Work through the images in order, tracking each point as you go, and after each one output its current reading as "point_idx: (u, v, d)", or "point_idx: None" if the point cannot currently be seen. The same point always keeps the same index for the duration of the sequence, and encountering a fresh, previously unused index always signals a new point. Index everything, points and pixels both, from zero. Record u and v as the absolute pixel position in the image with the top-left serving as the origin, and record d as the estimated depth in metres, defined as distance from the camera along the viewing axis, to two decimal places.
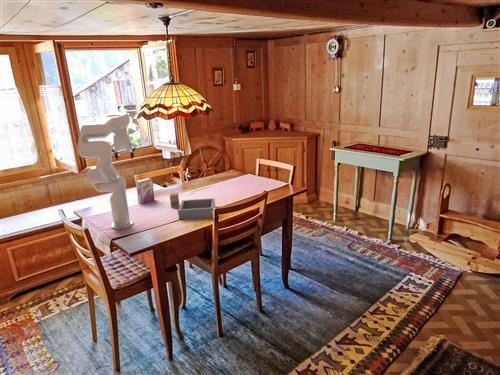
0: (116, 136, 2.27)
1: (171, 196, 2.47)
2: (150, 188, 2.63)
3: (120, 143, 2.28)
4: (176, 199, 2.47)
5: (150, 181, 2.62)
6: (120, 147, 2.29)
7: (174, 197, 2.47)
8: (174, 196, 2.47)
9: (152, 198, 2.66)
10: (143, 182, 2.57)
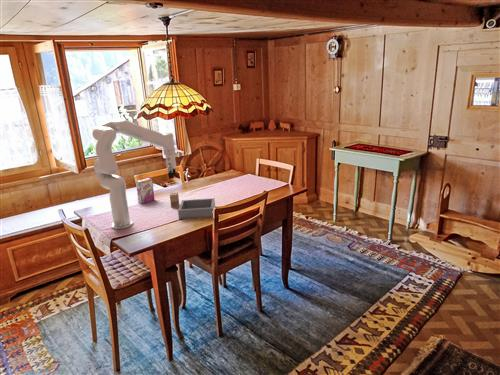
0: (173, 155, 2.39)
1: (171, 196, 2.47)
2: (150, 188, 2.63)
3: (174, 161, 2.42)
4: (176, 199, 2.47)
5: (150, 181, 2.62)
6: (175, 164, 2.43)
7: (174, 197, 2.47)
8: (174, 196, 2.47)
9: (152, 198, 2.66)
10: (143, 182, 2.57)
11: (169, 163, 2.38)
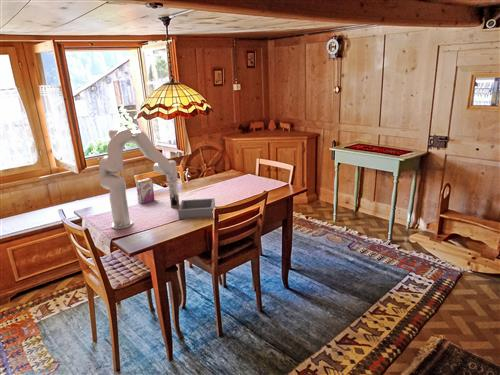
0: (175, 182, 2.44)
1: None
2: (150, 188, 2.63)
3: (177, 188, 2.48)
4: (176, 199, 2.47)
5: (150, 181, 2.62)
6: (177, 191, 2.48)
7: None
8: (174, 196, 2.47)
9: (152, 198, 2.66)
10: (143, 182, 2.57)
11: (172, 191, 2.43)
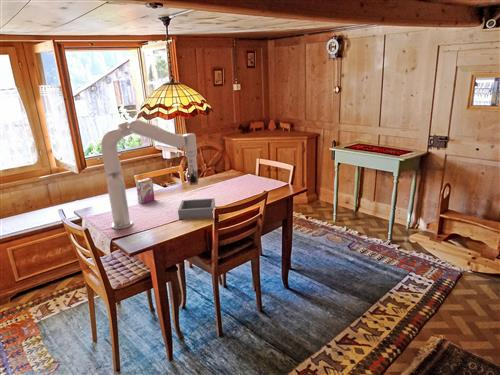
0: (195, 157, 2.25)
1: None
2: (150, 188, 2.63)
3: (196, 163, 2.28)
4: (195, 176, 2.28)
5: (150, 181, 2.62)
6: (196, 167, 2.28)
7: None
8: None
9: (152, 198, 2.66)
10: (143, 182, 2.57)
11: (191, 166, 2.24)
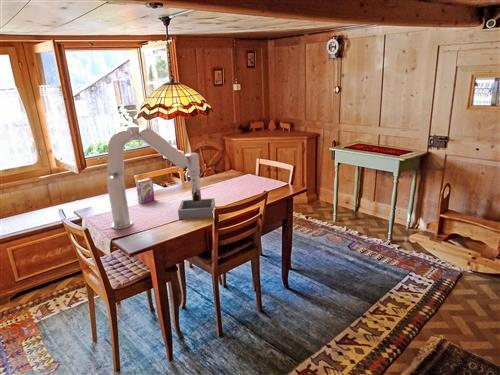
0: (198, 176, 2.27)
1: None
2: (150, 188, 2.63)
3: (199, 182, 2.31)
4: (198, 194, 2.31)
5: (150, 181, 2.62)
6: (199, 185, 2.31)
7: None
8: (196, 191, 2.30)
9: (152, 198, 2.66)
10: (143, 182, 2.57)
11: (194, 185, 2.27)
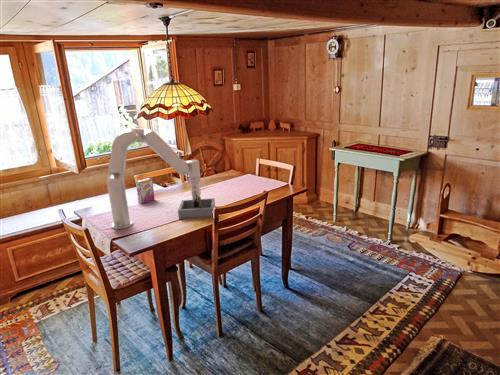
0: (198, 183, 2.29)
1: None
2: (150, 188, 2.63)
3: None
4: (199, 204, 2.32)
5: (150, 181, 2.62)
6: (200, 192, 2.32)
7: None
8: None
9: (152, 198, 2.66)
10: (143, 182, 2.57)
11: (194, 191, 2.27)
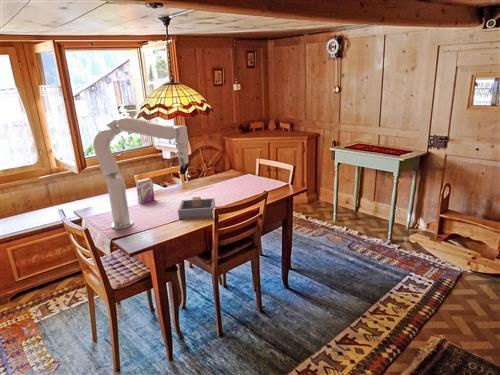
0: (185, 149, 2.23)
1: (193, 201, 2.32)
2: (150, 188, 2.63)
3: (187, 156, 2.27)
4: (199, 204, 2.32)
5: (150, 181, 2.62)
6: (187, 159, 2.27)
7: (197, 202, 2.32)
8: (197, 201, 2.32)
9: (152, 198, 2.66)
10: (143, 182, 2.57)
11: None
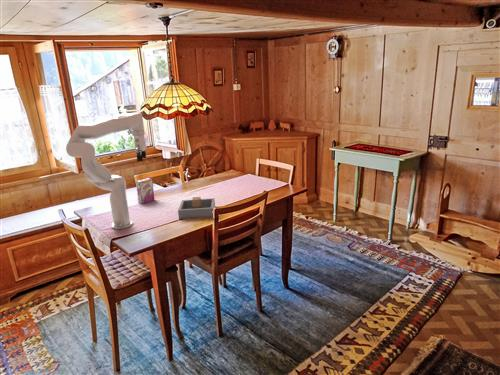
0: (142, 136, 2.24)
1: (193, 201, 2.32)
2: (150, 188, 2.63)
3: (144, 143, 2.28)
4: (199, 204, 2.32)
5: (150, 181, 2.62)
6: (144, 146, 2.28)
7: (197, 202, 2.32)
8: (197, 201, 2.32)
9: (152, 198, 2.66)
10: (143, 182, 2.57)
11: None
